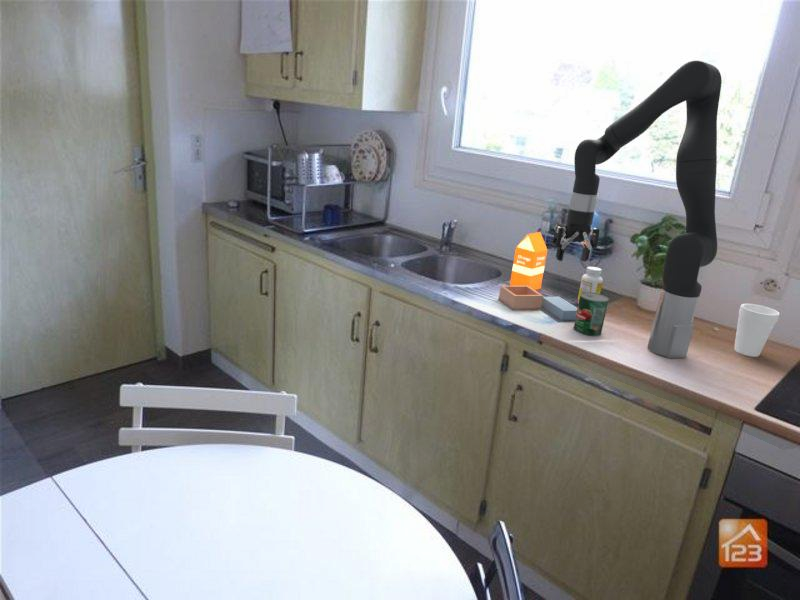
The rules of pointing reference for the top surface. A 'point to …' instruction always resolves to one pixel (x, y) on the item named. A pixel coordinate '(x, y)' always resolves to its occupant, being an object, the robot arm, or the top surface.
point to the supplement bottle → (591, 281)
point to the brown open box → (520, 297)
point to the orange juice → (529, 262)
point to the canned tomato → (590, 313)
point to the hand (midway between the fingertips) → (571, 260)
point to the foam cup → (754, 328)
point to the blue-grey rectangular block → (560, 308)
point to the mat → (554, 316)
